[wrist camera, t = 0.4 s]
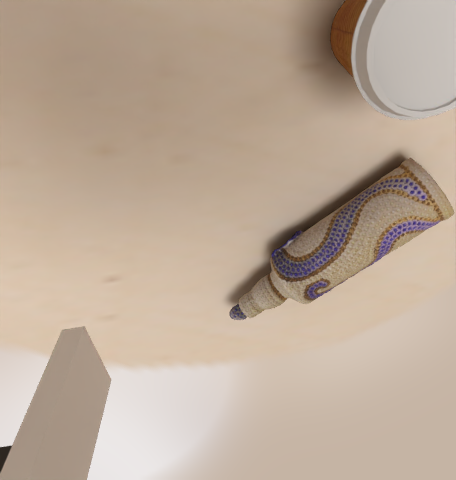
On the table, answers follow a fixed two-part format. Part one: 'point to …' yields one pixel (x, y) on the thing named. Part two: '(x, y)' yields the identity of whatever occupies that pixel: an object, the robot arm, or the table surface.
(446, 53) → the disposable coffee cup
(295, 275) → the decorative bottle
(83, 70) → the table surface
